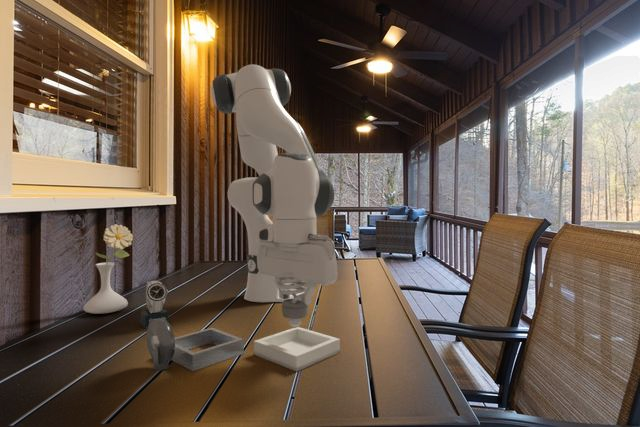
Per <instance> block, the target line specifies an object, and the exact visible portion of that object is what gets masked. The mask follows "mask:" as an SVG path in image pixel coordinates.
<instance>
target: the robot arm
mask: <svg viewBox="0 0 640 427" xmlns="http://www.w3.org/2000/svg"><path fill="white" fill-rule="evenodd" d="M211 83H212V84H211V87H210V97H211V100H212V102H213V105H214V106H215V107H216V110H218V111H219V112H220V113H222V114H229V115H230V114H233V113H235V117H236V118H235V120H236V121H235V122H236V131H237V137H238V138H237V139H238V144H239V150H240V157H241V160H242V162H243V163H244V164H245V165H246V166H248V167H251V168H252V169H254V170H255V171H256V173H257V174H258V176H256V177H252V176H251V177H250V176H249V177H244V178H243V177H242V178H238V179H236V180H235V179H234V180H233V181H232V182H231V183H230V185H229V186H228V190H227V199H228V202H229V205H230V206H231V207H232V208H233V209H234V210H235V211H237V213H239V215H240V216H241V218H242V220H243V222H244V224H245V227H246V231H247V233H246V234H247V244H248V254H247V256H246V257H247V258H246V259H247V260H246V262H247V266H246V267H247V271H248V272H247V274H248V275H247V282H246V288H245V293H244V296H243V299H244V300H246V301H247V302H248V301H249V302H252V303H253V302H254V303H282V302H283V301H284V300H287V299H293V298H294V296H293V295H284V294H282V291H284V290H290V291H293V290H297V289H282V288H281V286H282V285H295V283H282V282H281V281H282V280H283V279H296V280H298V281H303V282H304V286H303V287H307V288H306V291H305V292H302V293H298V294H296V295H297V296H298V295H300V294H303V293H305V294H303V295H301V298H300V299H302V300H301V303H302V304H306V305H308V306H309V305H311V304H312V303H313V295H314V293H315V291H316V290H317V287H318V285H321V286H327V285H332V284H335V283H336V281H337V279H338V275H339V274H338V263H337V257H336V251H335V247H336V246H335V243H334V241H333V239H331V238H330V237H329V235H327V234H317V221H318V220H317V218H320V217H322V216H324V215H325V214H326V213H328V211H329V210H330V209H331V207H332V206H333V204H334V203H335V202H334V201H335V188H334V186H333V184H332V182H331V180H330V179H329V176H327V174H326V172H325V171H324V170H323V168H322V166H321V164H320V162H319V160H318V158H317V156H316V154H315V152H314V150H313V148H312V146H311V143H310V140H309V138H308V137H307V135H306V132H305V131H304V129H303V127H302V126H301V124H300V123H299V122H298V121H296V120H295V119H294V118H293V117H292V116H291V115H290V114H289V113H288V111H287V110H286V109H285V108H284V106H286V104H287V103H288V102H289V101H290V97H291V92H292V86H291V85H292V84H291V82H290V79H289V77H288V74H287V73H286V72H285V71H284V70H283V69H282V68H281V69H280V68H274V67H273V68H271V69H269V68H268V69H267V68H265V67H263V66H261V65H258V64H248V65H245V66H243V67H241V68H240V69H239V70H238V71H237V72H232V73H229V74H226V73H223V74H220V75H216V76H215V77H214V78H213V80H212V82H211ZM277 147H278V148H281V149H282V150H284V151H286V152H282V153H278V148H277ZM271 216H272V220H271V219H270V217H271ZM292 273H293V274H294V277H291V278H283V277H282V274H292Z"/></svg>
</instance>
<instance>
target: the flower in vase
mask: <svg viewBox="0 0 640 427" xmlns="http://www.w3.org/2000/svg"><path fill="white" fill-rule="evenodd" d="M133 237H134V236H133V233H131V230H129V228H128V227H126V226H123V225H122V224H119V225H118V224H117V223H116V224H114V225H113V224H112V225H110V227H106V228H105V230H104V233H103V239H102V240H103V241H104V242H105V244H106V245H107V246H108V247H109V248H113V251H112V253H111V255H110V256H107V255H106V254H105V255H104V254H101V253H99V252H96V251H95V254H96V256H98V257H99V258H102V259H107V261H106V262H99V263H95V267H96V268H97V269H98V272H99V275H100V283H101V284H100V289H99V291H98V292H97V293H96V294H94V296H92V297H91V298H90V299H89V300H88V301H87V302H86V303H85V304H84V305H83V308H82V309H83V311H84V312H86V313H87V314H88V313H89V314H95V315H96V314H97V315H98V314H102V315H103V314H110V313H115V312H117V311H121V310H124V309H125V308H127V306H128V305H129V302H128V300H127V299H126V298H125V297H123V296H122V295H120V294H119V293H117V292H115V291H114V290H113V289H112V287H111V272H112V269H113V267H114V266H115V262H111V261H110V260H111V259H112V257H113V256H115V257H116V258H118V259H123V258H126V257H129V256H130V254H129V253H128V252H127V251H125V250H124V249H125V248H127V247H130V246H132V241H133ZM116 249H117V251H116Z"/></svg>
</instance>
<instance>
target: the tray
mask: <svg viewBox="0 0 640 427" xmlns="http://www.w3.org/2000/svg"><path fill="white" fill-rule="evenodd" d="M340 353H341V339H340V338H338V337H335V336H331V335H327V334H324V333H320V332H317V331H314V330H311V329H307V328H303V327H301V326H297V327H296V328H294V327H292V328H289V329H286V330H283V331H280V332H277V333H275V334H270V335H268V336H264V337H262V338H259V339H255V340H253V355H254V356H256V357H259V358H261V359H264V360H267V361H270V363H275V364H277V365H279V366H282V367H284V368H287V369H288V370H292V371H295V372H299V371H301V370H303V369H306V368H308V367H310V366H312V365H315V364H318V363H320V362H321V361H325V360H326V359H328V358H331V357H333V356H335V355H338V354H340Z"/></svg>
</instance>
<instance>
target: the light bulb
mask: <svg viewBox="0 0 640 427" xmlns="http://www.w3.org/2000/svg"><path fill="white" fill-rule="evenodd" d="M282 277H283V278H291V277H294V274H293V273H292V274H282ZM281 282H282V283H295V285H282V286H281V288H282V289H297V290H293V291H290V290H284V291H282V294H284V295H293V296H294V298H293V299H287V300H284V301H283V302H281V313H282V316H283V317H284V318H286V319H288V325H290V326H291V327H292V328H296V327H300V325H301V324H302V319H305V318H306V317H307V316H308V314H309V304H308V305H306V304H302V303H301V300H302V299H301V295H303V294H305V293H303V294H300V295H298V296H297V295H296V294H298V293H302V292H305V291H306V288H307V287H305V286H304V282H303V281H298V280H296V279H283V280H282V281H281Z"/></svg>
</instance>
